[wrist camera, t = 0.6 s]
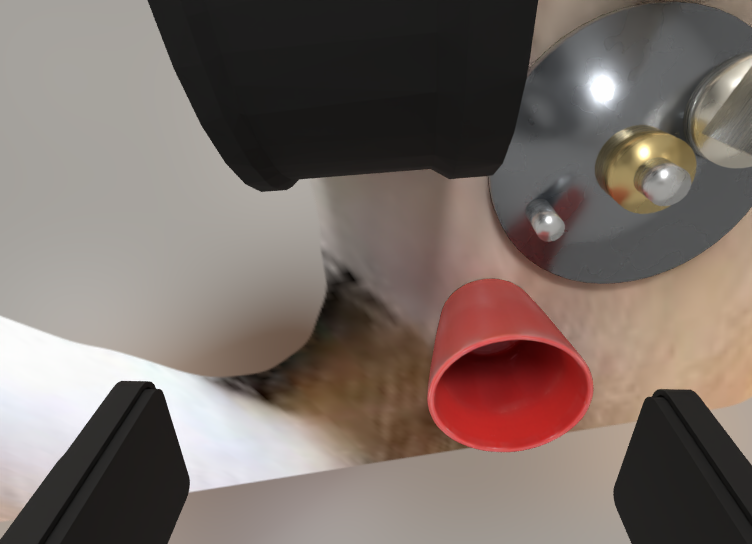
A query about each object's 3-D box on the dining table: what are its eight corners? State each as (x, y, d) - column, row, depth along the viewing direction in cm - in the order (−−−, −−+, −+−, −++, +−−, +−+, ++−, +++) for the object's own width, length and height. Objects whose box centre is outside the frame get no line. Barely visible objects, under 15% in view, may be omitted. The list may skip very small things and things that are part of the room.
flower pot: (521, 378, 44) (552, 468, 35) (405, 350, 43) (408, 436, 34) (575, 281, 39) (625, 358, 30) (445, 246, 38) (459, 317, 29)
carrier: (589, -56, 28) (659, -78, 20) (842, 80, 31) (984, 104, 23) (442, 223, 37) (454, 278, 29) (651, 307, 40) (710, 378, 32)
